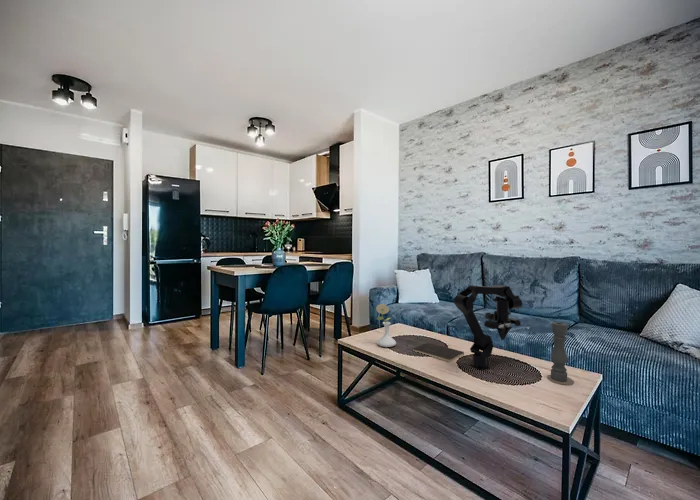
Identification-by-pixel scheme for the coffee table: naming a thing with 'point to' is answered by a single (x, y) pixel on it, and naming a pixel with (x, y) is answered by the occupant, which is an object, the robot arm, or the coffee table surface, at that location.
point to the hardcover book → (438, 351)
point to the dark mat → (568, 382)
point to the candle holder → (559, 352)
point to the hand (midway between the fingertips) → (502, 339)
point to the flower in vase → (386, 339)
